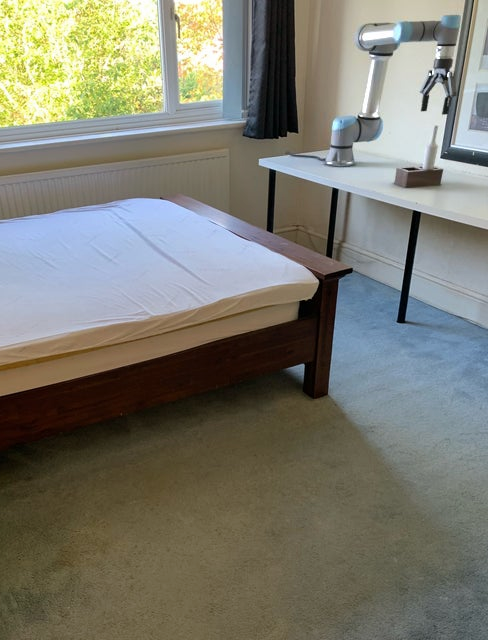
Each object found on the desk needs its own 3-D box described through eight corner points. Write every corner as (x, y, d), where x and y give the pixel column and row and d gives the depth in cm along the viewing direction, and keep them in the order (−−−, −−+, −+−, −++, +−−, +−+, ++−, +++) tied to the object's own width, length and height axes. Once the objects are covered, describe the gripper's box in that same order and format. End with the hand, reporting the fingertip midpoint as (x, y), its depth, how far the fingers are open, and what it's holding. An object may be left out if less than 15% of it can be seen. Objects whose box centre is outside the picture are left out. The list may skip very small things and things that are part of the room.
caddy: (394, 183, 279) (396, 167, 275) (428, 180, 282) (431, 165, 279) (405, 187, 271) (408, 171, 267) (440, 184, 274) (443, 169, 271)
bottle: (424, 185, 275) (435, 126, 261) (416, 182, 279) (427, 125, 265) (433, 183, 276) (444, 125, 263) (425, 181, 280) (436, 124, 267)
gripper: (417, 57, 260) (408, 110, 271) (458, 59, 240) (447, 116, 251) (430, 56, 262) (421, 109, 273) (472, 58, 242) (461, 115, 254)
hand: (434, 112), depth 262 cm, fingers open, 13 cm apart
